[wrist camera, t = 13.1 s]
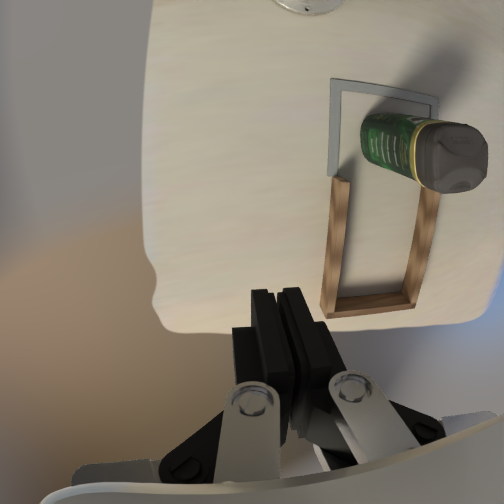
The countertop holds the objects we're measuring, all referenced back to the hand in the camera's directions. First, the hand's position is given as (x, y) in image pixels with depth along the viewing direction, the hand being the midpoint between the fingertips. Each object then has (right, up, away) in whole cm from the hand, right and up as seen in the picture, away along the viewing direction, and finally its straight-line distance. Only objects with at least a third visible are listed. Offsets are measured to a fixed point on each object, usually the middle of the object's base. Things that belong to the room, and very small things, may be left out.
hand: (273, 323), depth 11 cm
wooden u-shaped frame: (+19, +4, +39) cm, 44 cm away
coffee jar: (+19, +20, +32) cm, 42 cm away
